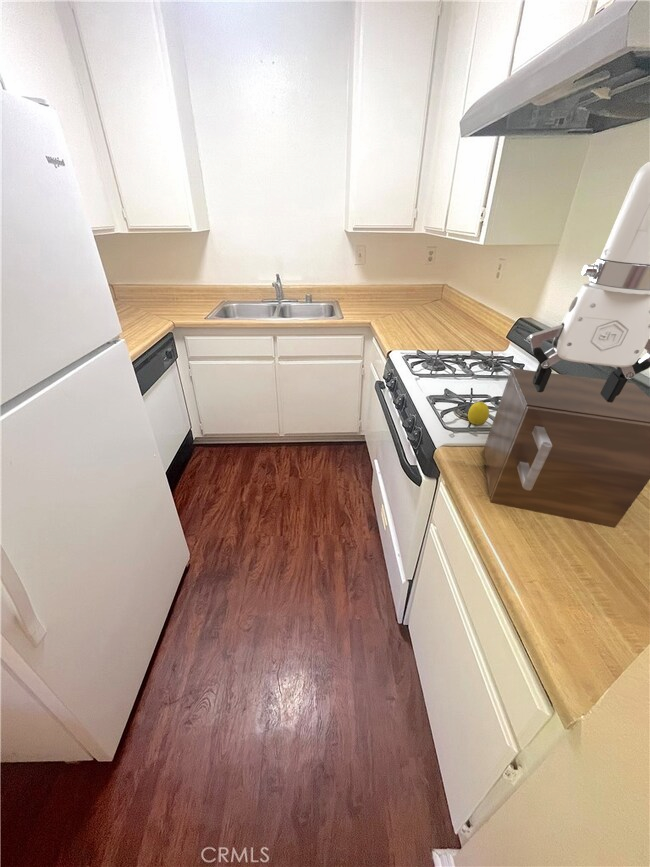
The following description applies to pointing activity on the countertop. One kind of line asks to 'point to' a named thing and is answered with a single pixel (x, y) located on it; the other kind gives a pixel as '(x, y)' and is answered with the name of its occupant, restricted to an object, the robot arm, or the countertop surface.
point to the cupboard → (556, 396)
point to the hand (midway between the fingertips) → (571, 393)
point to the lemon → (478, 413)
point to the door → (575, 466)
